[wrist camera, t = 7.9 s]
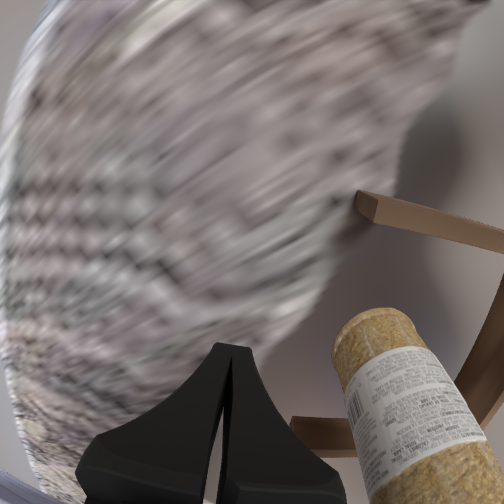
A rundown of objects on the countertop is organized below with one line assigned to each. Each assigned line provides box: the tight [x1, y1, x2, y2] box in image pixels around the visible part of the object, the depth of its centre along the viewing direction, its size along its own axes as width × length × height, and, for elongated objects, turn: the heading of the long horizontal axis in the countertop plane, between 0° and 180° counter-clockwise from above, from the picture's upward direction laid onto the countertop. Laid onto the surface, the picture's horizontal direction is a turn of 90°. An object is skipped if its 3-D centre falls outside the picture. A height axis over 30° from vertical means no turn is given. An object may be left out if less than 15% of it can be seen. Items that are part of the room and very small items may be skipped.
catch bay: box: [290, 190, 504, 458], centre depth 13 cm, size 22×11×4 cm, turn 171°
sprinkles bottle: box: [331, 308, 504, 504], centre depth 8 cm, size 5×5×14 cm
